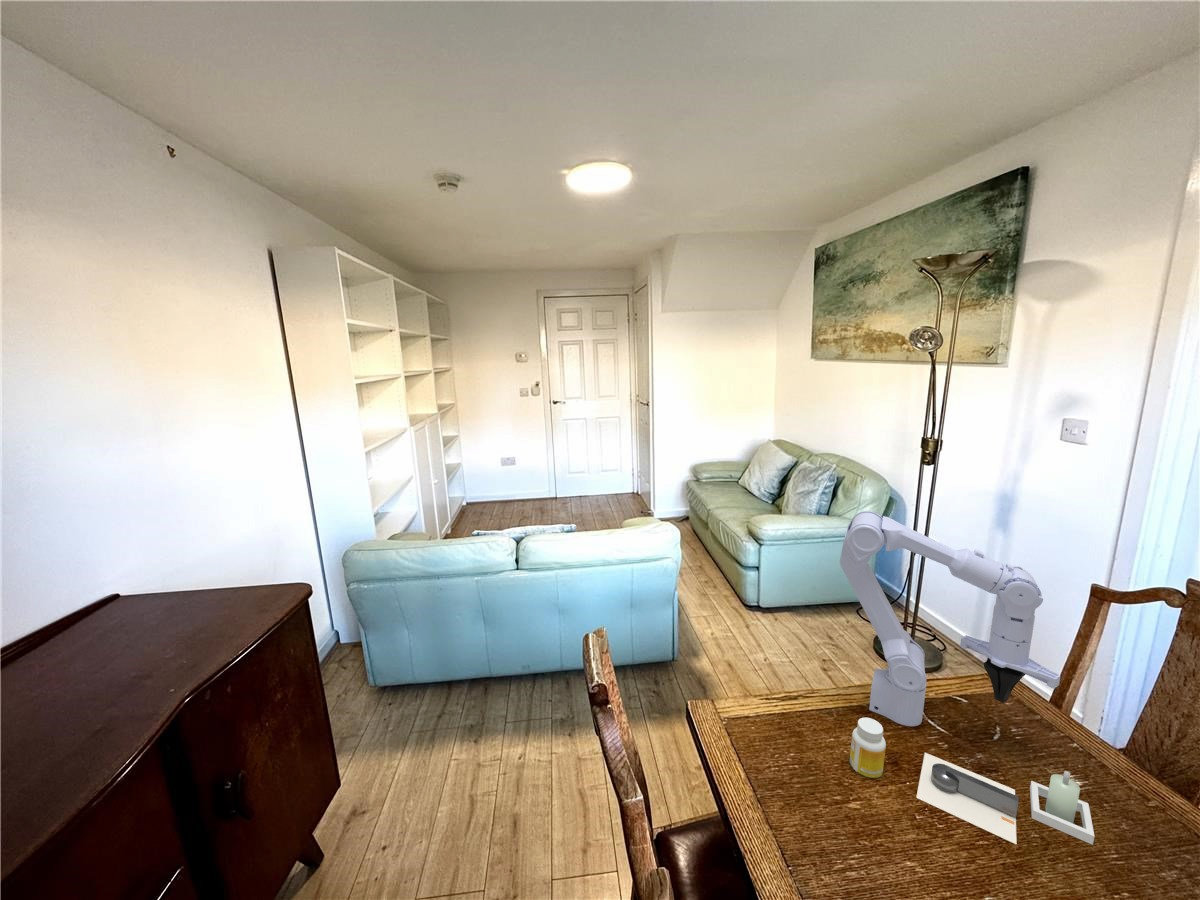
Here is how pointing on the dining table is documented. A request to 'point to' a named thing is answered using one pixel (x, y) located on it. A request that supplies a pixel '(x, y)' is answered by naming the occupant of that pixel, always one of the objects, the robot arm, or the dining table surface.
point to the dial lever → (974, 788)
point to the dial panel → (966, 802)
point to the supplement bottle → (868, 748)
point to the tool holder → (1058, 823)
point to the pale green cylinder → (1062, 797)
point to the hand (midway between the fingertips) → (1001, 699)
